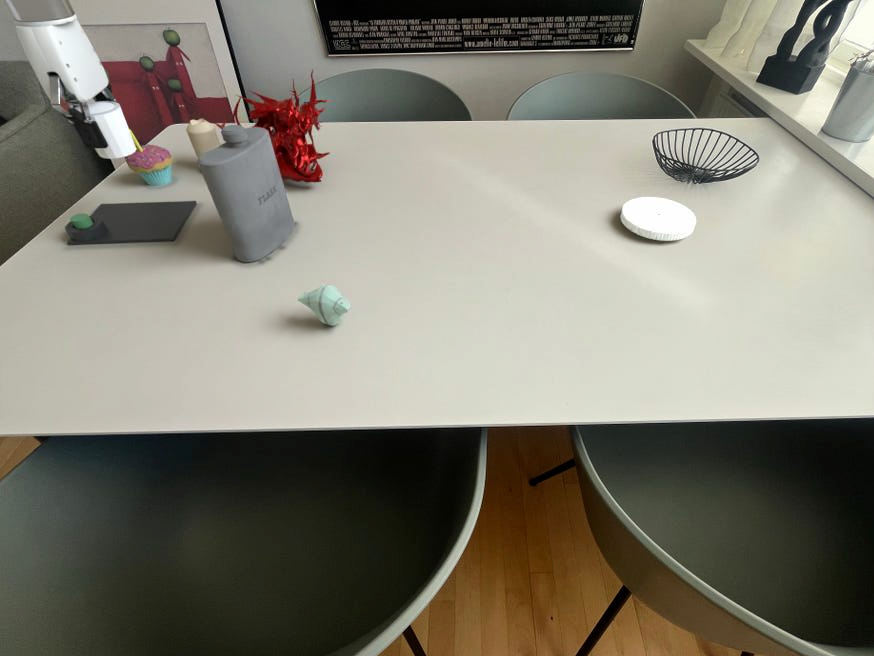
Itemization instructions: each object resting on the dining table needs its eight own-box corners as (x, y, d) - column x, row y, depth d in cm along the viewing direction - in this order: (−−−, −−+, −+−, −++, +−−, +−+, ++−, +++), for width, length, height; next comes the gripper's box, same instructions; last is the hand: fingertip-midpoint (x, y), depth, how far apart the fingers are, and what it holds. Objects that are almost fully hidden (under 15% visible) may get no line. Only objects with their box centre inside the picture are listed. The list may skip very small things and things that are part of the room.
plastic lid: (664, 204, 101) (667, 192, 99) (707, 238, 92) (711, 226, 90) (606, 214, 98) (608, 202, 96) (644, 250, 89) (648, 238, 87)
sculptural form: (307, 152, 90) (363, 81, 99) (185, 96, 90) (253, 30, 99) (320, 220, 109) (367, 156, 118) (220, 174, 109) (274, 112, 118)
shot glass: (147, 143, 84) (127, 100, 79) (128, 160, 80) (105, 116, 75) (108, 142, 84) (85, 99, 79) (86, 159, 79) (60, 115, 74)
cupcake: (170, 190, 101) (143, 131, 92) (129, 189, 101) (98, 130, 92) (187, 171, 107) (162, 114, 98) (148, 171, 107) (120, 114, 98)
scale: (66, 245, 86) (58, 233, 84) (101, 207, 96) (94, 195, 94) (174, 241, 87) (168, 229, 86) (197, 204, 97) (192, 192, 95)
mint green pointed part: (302, 327, 72) (290, 291, 67) (315, 310, 75) (305, 274, 70) (351, 337, 71) (343, 301, 66) (363, 319, 74) (355, 284, 69)
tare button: (72, 230, 86) (66, 221, 84) (80, 222, 88) (74, 213, 86) (89, 229, 86) (83, 220, 85) (96, 221, 88) (91, 212, 86)
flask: (260, 266, 83) (217, 149, 68) (230, 260, 84) (182, 144, 69) (303, 223, 93) (274, 113, 78) (276, 218, 94) (242, 109, 79)
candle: (196, 170, 107) (177, 124, 100) (211, 160, 111) (194, 114, 104) (218, 173, 106) (200, 126, 99) (233, 163, 110) (216, 117, 103)
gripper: (44, -4, 73) (107, 119, 86) (-28, 22, 61) (58, 161, 74) (96, -4, 74) (151, 118, 87) (36, 22, 62) (109, 160, 75)
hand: (107, 137), depth 80 cm, fingers closed on shot glass, 6 cm apart
